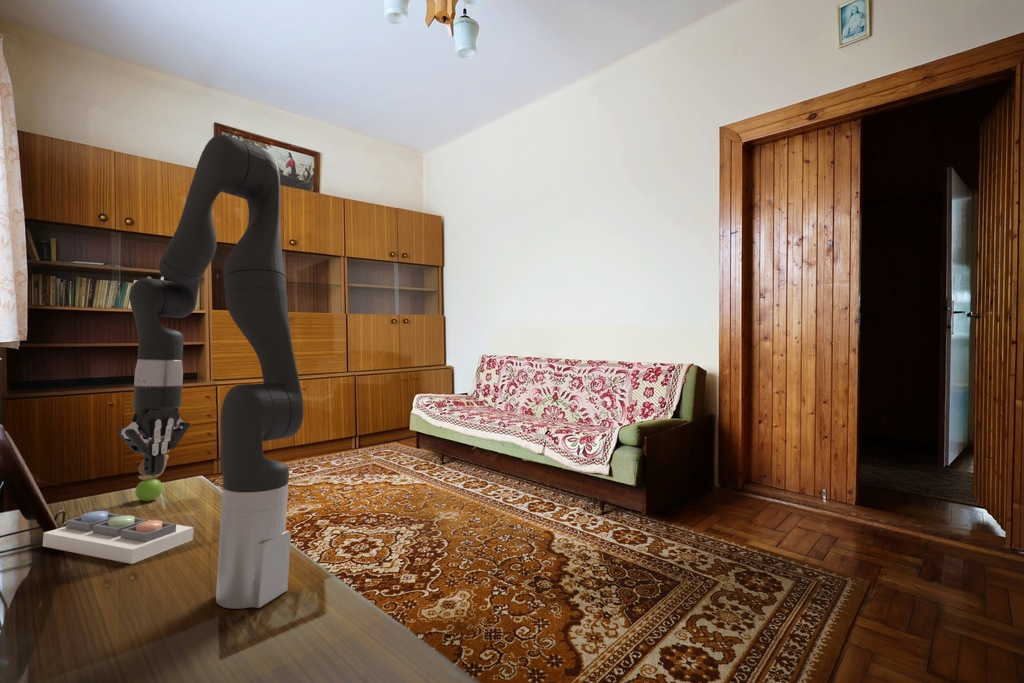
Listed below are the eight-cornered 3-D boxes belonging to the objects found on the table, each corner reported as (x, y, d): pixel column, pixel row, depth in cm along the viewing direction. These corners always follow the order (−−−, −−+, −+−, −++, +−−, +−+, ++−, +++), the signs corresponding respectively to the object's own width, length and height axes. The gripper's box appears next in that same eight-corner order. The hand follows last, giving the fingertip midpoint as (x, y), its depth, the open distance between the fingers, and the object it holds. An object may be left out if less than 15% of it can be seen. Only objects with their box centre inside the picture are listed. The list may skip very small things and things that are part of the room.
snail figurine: (170, 499, 122) (173, 451, 122) (140, 505, 116) (143, 455, 117) (160, 495, 125) (163, 448, 125) (130, 501, 119) (134, 451, 120)
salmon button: (166, 532, 94) (167, 521, 94) (146, 539, 90) (147, 528, 90) (150, 529, 95) (151, 519, 95) (130, 536, 91) (130, 525, 91)
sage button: (139, 527, 96) (139, 516, 96) (118, 534, 92) (118, 523, 92) (123, 524, 97) (124, 514, 97) (102, 531, 93) (102, 520, 93)
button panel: (192, 540, 97) (194, 519, 97) (131, 563, 85) (133, 540, 86) (110, 525, 103) (111, 506, 103) (42, 546, 91) (44, 524, 91)
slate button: (112, 522, 97) (113, 512, 97) (90, 528, 94) (91, 518, 94) (97, 519, 98) (98, 509, 98) (75, 526, 95) (76, 515, 95)
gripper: (139, 385, 86) (133, 484, 85) (204, 383, 99) (199, 469, 98) (107, 383, 88) (101, 480, 87) (175, 381, 101) (170, 465, 100)
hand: (153, 474), depth 93 cm, fingers closed
